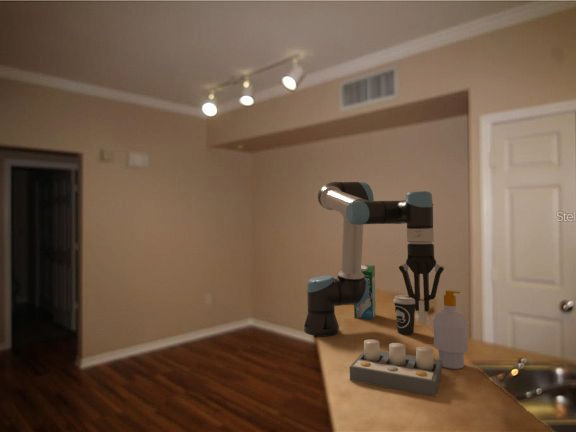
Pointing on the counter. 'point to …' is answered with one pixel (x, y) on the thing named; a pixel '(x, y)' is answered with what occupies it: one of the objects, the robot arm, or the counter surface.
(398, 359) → the button
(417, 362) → the button
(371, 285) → the milk carton
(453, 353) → the soap bottle
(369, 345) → the button
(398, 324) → the coffee cup
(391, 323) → the counter surface
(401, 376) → the board
